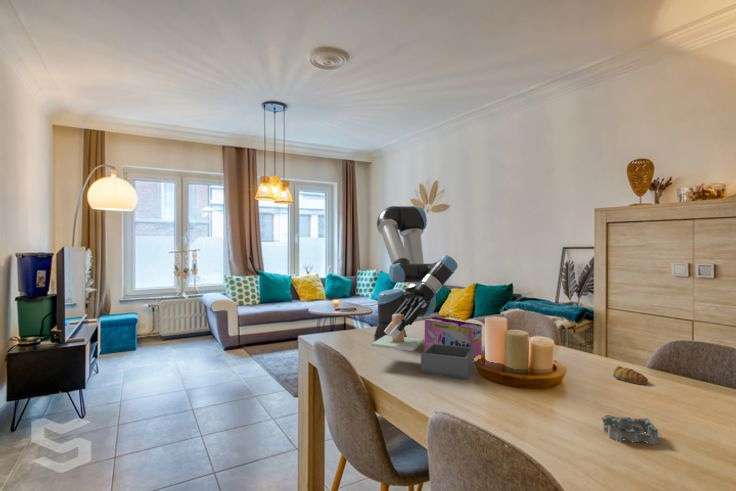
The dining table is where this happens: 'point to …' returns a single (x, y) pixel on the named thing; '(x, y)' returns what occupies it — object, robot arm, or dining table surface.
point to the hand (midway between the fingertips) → (389, 335)
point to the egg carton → (630, 429)
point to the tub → (447, 361)
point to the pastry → (629, 375)
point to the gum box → (453, 333)
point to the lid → (398, 338)
